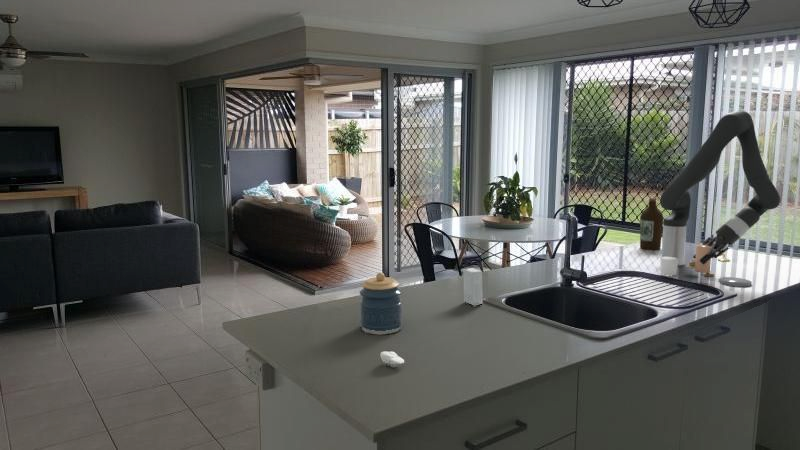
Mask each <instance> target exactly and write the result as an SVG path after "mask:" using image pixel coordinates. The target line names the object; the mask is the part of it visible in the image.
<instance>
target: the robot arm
mask: <svg viewBox="0 0 800 450" xmlns="http://www.w3.org/2000/svg"><path fill="white" fill-rule="evenodd" d="M736 137H737V139H738V142H739V144H740V147H741V158H742V159H741V164H742V169H743V172H744V175H745V178H746V180H747V183H748V184H749V186H750V187H751V188H752V189H754V192H755V193H756V195H754V196H753V197H752V198H751V199H750V200H749V201H748V202H747V204H746V205H745V206H744V208H742V209H741V210H740V211H739V212H738V213H736V214H735V215H734V216H732V217H731V218H729V219H728V220H727V221H726V222H725V223H724V224H722V225H721V226H720V227H719V228H718V229H717V230H716V231H715V235H716V236H714V237H713V238H711V237H710V236H709V237H707V238H706V239H705V240H704V241H703V242H702V243H701V245H709V246H711V248H710V251H709V252H708V253H707V254H706V255H705V256H703V257H702V258H701V259H700V262H701V263H702V264H705V263H706V262H707V261H708V260H710V259H711V260H712V259H718V257H721V256H720V255H721V254H723V253H724V254H725V252H727V251H729V247H728V246H733V245H734V244H735V243H736V242H737V241H739V240H740V239H741V238H742V237H743V236H744V235H745V234H746V233H747V232H748V231H749V230H750V229H751V228H752V227H753V226H754V225H756V224H757V223H758V222H759V221H760V218H761V216H763V215H764V214H765V212H767V211H770V210H774V209H777V207H778V206H779V205H780V203H781V195H780V194H779V191H778V189H777V188H776V187H775V185H774V183H773V182H772V180H771V179H770V175H769V173H768V170H767V168H766V166H765V164H764V160H763V158H762V155H761V152H760V148H759V144H758V139H757V135H756V130H755V125H754V121H753V118H752V116H751V114H750V113H749V112H748V111H745V110H737V111H732V112H729V113H726V114H724V115H722V116H721V117H720V119H719V120H718V122H717V124H716V125H715V127H714V128H713V130H712V131H711V134H710V135H709V136H708V138H707V139H706V141H704V143H703V144H702V145H701V147H700V148H699V149H698V150H697V151H696V153H695V154H694V155H693V156H692V158H691V159H690V160H689V161H688V163H687V164H686V165H685V167H684V168H683V169H682V170H681V172H680V173H679V174H678V175H677V177H676V178H675V179H674V180H673V181H672V183H670V185H668V187H666V189H664V191H663V192H662V193H661V195H660V198H659V204H660V207H661V208H662V209H664V210H666V211H671V213H670V214H669V215H667V216H666V217H663V227H662V238H661V257H664V256H670V257H676V258H678V259H679V260H678V266H684V264H685V257H686V256H685V253H686V239H687V237H686V236H687V224H688V220H689V218H690V210H691V203H692V202H691V201H692V197H691V194H690V192H689V191H688V190H690V189H691V188H693V187H694V186H695V185H698V184H699V183H700V182H702V181H703V180H705V179H706V178H707V177H708V176H709V175H710V174H712V172H713V171H714V170H715V168H716V167H717V166H718V164H719V161H720V159H721V156H722V152H723V151H724V149H725V147H727V146H728V144H729V143H731V141H733V139H735V138H736ZM695 256H696V253H695V254H694V255H693V256H692V258H693V260H694V259H695Z"/></svg>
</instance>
